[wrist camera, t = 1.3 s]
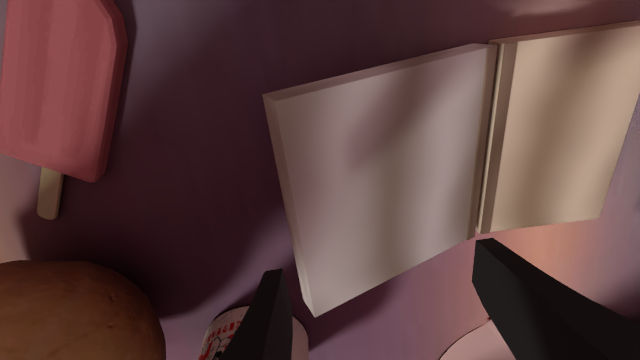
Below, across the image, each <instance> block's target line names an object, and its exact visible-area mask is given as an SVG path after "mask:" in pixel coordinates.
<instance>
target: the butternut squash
mask: <svg viewBox="0 0 640 360" xmlns="http://www.w3.org/2000/svg"><path fill="white" fill-rule="evenodd" d="M0 360H166V344H165V338H164V333H163V330H162V327H161V324H160V322H159V319H158V317H157V315H156V313H155V311H154V309H153V307H152V305H151V303H150V301H149V299H148V297H147V296H146V295H145V294H144V293H143V292H142V291H141V290H140V289H139V288H138V287H137V286H136V285H135V284H134V283H133V282H132V281H130V280H129V279H127V278H126V277H124V276H123V275H121V274H119V273H117V272H116V271H114V270H111V269H109V268H106V267H103V266H100V265H97V264H94V263H91V262H88V261H29V260H18V261H11V262H6V263H1V264H0Z"/></svg>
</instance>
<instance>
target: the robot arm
mask: <svg viewBox="0 0 640 360" xmlns="http://www.w3.org/2000/svg"><path fill="white" fill-rule="evenodd" d="M472 282H473V285H474V287H475V289H476V292H477V294H478V296H479V298H480V300H481V302H482V304H483V307H484V308H485V310H486V312H487V313H488V315H489V317H490V318H491V320H492V322H493V323H494V325H495V326H496V328H497V330H498V331H499V333H500V335H501V336H502V338H503V339H504V341H505V343H506V344H507V346H508V347H509V349H510V351H511V352H512V354H513V356H514V357H515V359H516V360H640V324H639V323H637V322H634V321H632V320H630V319H628V318H626V317H624V316H622V315H619V314H617V313H615V312H613V311H611V310H609V309H608V308H606V307H604V306H602V305H600V304H598V303H596V302H594V301H592V300H590V299H588V298H586V297H585V296H583V295H581V294H579V293H578V292H576V291H574V290H572V289H571V288H569V287H567V286H566V285H564V284H562V283H561V282H559V281H557V280H556V279H554V278H552V277H551V276H549V275H548V274H546V273H544V272H543V271H541V270H540V269H538V268H537V267H535V266H534V265H532V264H531V263H529V262H528V261H526V260H525V259H523V258H522V257H520V256H519V255H517V254H516V253H514V252H513V251H511V250H510V249H509V248H507V247H506V246H504V245H503V244H501V243H500V242H498V241H497V240H495V239H494V238H489V239H482V240H476V246H475V256H474V265H473V275H472ZM292 342H293V319H292V305H291V301H290V297H289V293H288V289H287V285H286V282H285V278H284V274H283V270H282V269H277V270H270V271H266V272H265V273H264V274H263V277H262V279H261V282H260V284H259V287H258V289H257V291H256V293H255V295H254V298H253V300H252V302H251V304H250V306H249V308H248V310H247V312H246V314H245V315H244V317H243V319H242V321H241V323H240V325H239V326H238V328H237V330H236V332H235V333H234V335H233V337H232V338H231V340H230V342H229V344H228V345H227V347H226V348H225V350H224V351H223V353H222V354H221V356H220V357H219V359H218V360H291V356H292Z"/></svg>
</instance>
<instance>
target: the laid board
mask: <svg viewBox="0 0 640 360" xmlns="http://www.w3.org/2000/svg"><path fill="white" fill-rule="evenodd" d="M488 45H497V54H496V62H495V70H494V79H493V87H492V95H491V104H490V112H489V120H488V129H487V137H486V145H485V154H484V162H483V170H482V178H481V187H480V195H479V203H478V212H477V220H476V228H475V229H476V230H477V232H478V233H480V234H485V233H490V232H493V231H501V230H509V229H517V228H525V227H533V226H542V225H550V224H558V223H566V222H574V221H582V220H590V219H598V218H599V216H600V213H601V210H602V207H603V203H604V200H605V197H606V194H607V191H608V188H609V185H610V182H611V179H612V176H613V173H614V170H615V167H616V164H617V161H618V157H619V154H620V151H621V148H622V145H623V142H624V139H625V136H626V133H627V130H628V127H629V124H630V121H631V118H632V114H633V111H634V108H635V105H636V102H637V99H638V96H639V93H640V21H630V22H622V23H614V24H607V25H599V26H592V27H584V28H577V29H569V30H561V31H554V32H546V33H539V34H531V35H524V36H516V37H508V38H501V39H493V40H489V41H488Z"/></svg>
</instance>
